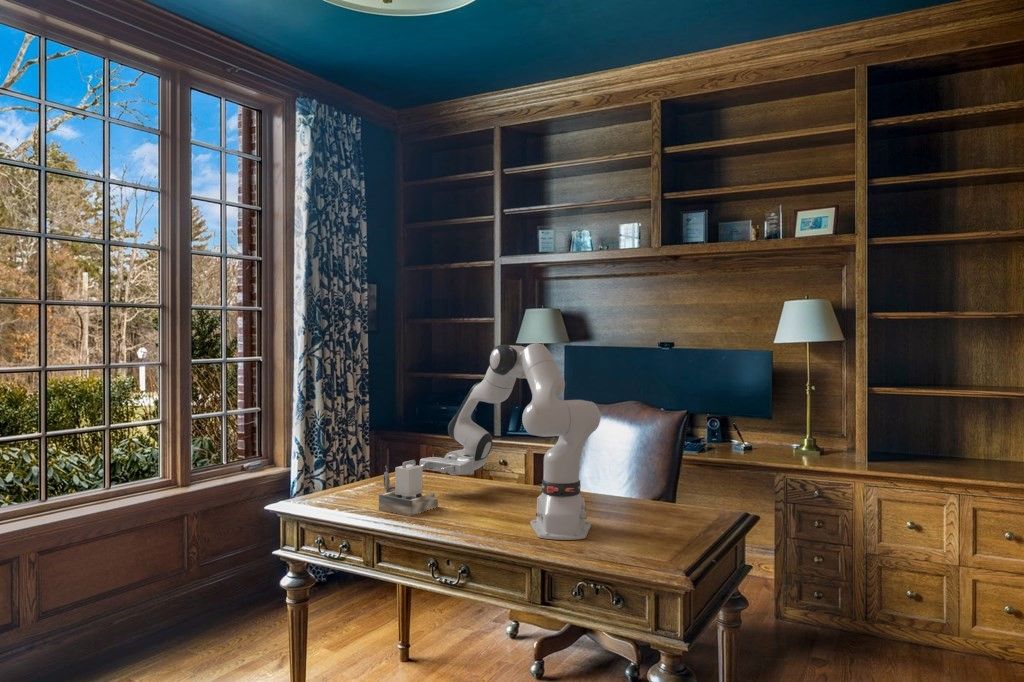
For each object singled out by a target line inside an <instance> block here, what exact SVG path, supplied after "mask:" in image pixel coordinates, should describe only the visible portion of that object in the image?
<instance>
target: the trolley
mask: <svg viewBox="0 0 1024 682" xmlns="http://www.w3.org/2000/svg"><path fill="white" fill-rule="evenodd" d="M416 463H417V462H416V460H415V459H411V460H408V461H404V462H402V465H400V466H396V467H395V469H394V470H395V471H394V473H395V477H394V479H395V481H394V483H395V484H394V487H395V494H397V495H396V497H398V498H402V496H401V495H403V496H407V497H406V499H409V500H411V499H412V497H411V496H413V495H416V497H417V498H418V497H421V496H423V495H422V493H423V482H424V481H423V477H424V476H423V472H424V470H423V466H420V465H418V464H417V465H416Z"/></svg>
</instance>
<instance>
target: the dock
mask: <svg viewBox="0 0 1024 682" xmlns="http://www.w3.org/2000/svg"><path fill="white" fill-rule="evenodd" d="M396 495H397V494H395V491H392V492H388V491H387V492H385V493H381V494H378V510H379V511H381V510H382V512H386V511H388V512H387V513H391V512H393V514H396V513H397V515H401V514H402V515H403V516H406V515H408V516H407V517H413V516H416V515H419V514H421V512H422V513H424V511H425V512H428V511H430V509H431V510H434V509H437V508H439V507H438V506H439V505H438V504H439V503H438V502H439V499H438V497H435V496H436V495H435V493H432V492H431V493H429V494H424V495H422V496H421V497H418V498H417V497H416V495H413V496H411V497H412V499H411V500H409V499H406V497H407V496H403V495H401V496H402V498H398V497H396ZM436 507H437V508H436ZM433 508H434V509H433ZM427 510H428V511H427ZM418 513H419V514H418ZM415 514H416V515H415ZM402 515H401V516H402ZM412 515H413V516H412Z"/></svg>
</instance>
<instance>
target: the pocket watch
mask: <svg viewBox="0 0 1024 682" xmlns="http://www.w3.org/2000/svg"><path fill="white" fill-rule="evenodd" d="M384 467H385V471H384V473H383V480H382V481H383V487H384V490H385V491H387V493H388V492H392V491H395V486H391V487H390V480H391V479H390V475H389V474H390V473H389V472H388V470H389V469H388V467H387V465H385V466H384Z"/></svg>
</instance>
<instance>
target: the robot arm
mask: <svg viewBox="0 0 1024 682" xmlns="http://www.w3.org/2000/svg"><path fill="white" fill-rule="evenodd" d="M488 360H489V366H488V368H487V370H486V373H485V375H484V378H483V379H482V380H481V382H480V381H478V382H476V383H475V384H474V385H473V386H472V387H471V388H470V389H469V391H468V393H467V395H466V396H465V397H464V400H463V401H462V403H461V405H460V406H459V408H458V410H457V412H456V413H455V415H454V416H453V417H452V419H451V420H450V421H449V423H448V424H447V425H448V426H447V432H448V437H449V438H450V439H452V440H454V441H455V442H457V443H459V444H460V445H462V447H463V449H456V450H453V451H449V452H447V453H446V454H445V455H444V457H440V456H439V457H437V456H432V457H431V456H429V457H424V458H422V457H421V458H420V460H419V466H423V471H425V470H427V471H432V472H433V471H434V472H440V473H441V474H449V475H450V476H462V475H463V476H465V475H470V476H472V475H474V474H475V471H476V470H478V469H481V467H483V466H484V465H485V464H486V463H487V461H488V458H489V457H488V456H489V454H490V453H491V451H492V447H493V437H492V434H491V433H490V432H489V431H487V430H486V429H485V428H484V427H482V426H480V425H479V424H477V423H476V422H474V421H473V420H472V417H471V416H472V414H473V412H474V410H475V408H476V407H477V405H478V404H479V402H483V403H487V404H500V403H502V402H503V403H504V401H506V400H507V399H508V398H509V397H510V395H511V394H512V391H513V389H514V386H515V383H516V381H517V379H526V380H527V383H528V385H529V388H530V391H531V396H532V397H531V401H530V403H529V404H527V405H526V406H525V408H524V409H523V413H522V416H521V418H522V419H521V421H522V425H523V428H524V430H525V431H526V432H527V434H529V435H530V436H537V437H542V438H543V437H544V438H546V437H548V438H549V437H558V440H557V441H556V443H555V444H554V446H552V447H550V448H548V450H547V451H546V452H545V454H544V456H543V478H542V480H541V494H539V495H538V497H536V515H535V516H536V519H532V520H530V523H529V525H530V526H531V528H532V529H533V530H534V533H535V534H536V536H537V537H538V538H539V539H540V538H541V539H544V540H554V541H555V540H558V541H559V540H561V541H566V540H567V541H570V540H571V541H574V540H575V541H576V540H583V539H584V540H585V539H586V538H587V535H588V533H589V531H590V529H591V527H592V522H591V521H588V520H587V519H588V512H587V511H585V510H586V509H587V505H586V503H585V500H586V499H585V498H584V496H582V495H581V487H582V485H581V480H580V464H581V463H580V462H581V460H580V459H581V456H582V455H581V454H582V451H583V448H584V445H585V444H586V442H587V440H588V439H589V437H590V436H591V435H592V434H593V433H594V432H595V431H596V430H597V429H598V428H599V426H600V424H601V412H600V409H599V407H598V405H596V404H595V403H594V402H593V401H589V400H584V399H565V400H564V399H563V400H561V399H560V398H559V397H560V396H561V395H562V394H563V392H564V391H565V389H566V388H565V387H566V383H565V379H564V377H563V375H562V372H561V371H560V368H559V366H558V363H557V362H556V360H555V358H554V356H553V355H552V353H551V352H550V350H549V349H548V348H547V347H546V346H545V345H544V344H543V343H538V342H536V343H535V342H534V343H530V344H529V345H526V346H522V345H508V344H499V345H496V346H495V347H494V348H492V350H491V352H490V355H489V359H488Z"/></svg>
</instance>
